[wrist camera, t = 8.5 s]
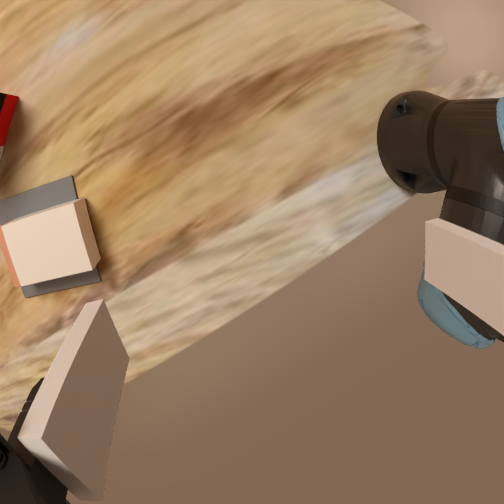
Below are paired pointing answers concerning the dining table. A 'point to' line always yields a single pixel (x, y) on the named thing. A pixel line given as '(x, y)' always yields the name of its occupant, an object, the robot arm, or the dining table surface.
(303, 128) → the dining table surface
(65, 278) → the mat
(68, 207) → the tall block
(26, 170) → the dining table surface
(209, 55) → the dining table surface
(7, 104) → the puzzle toy
